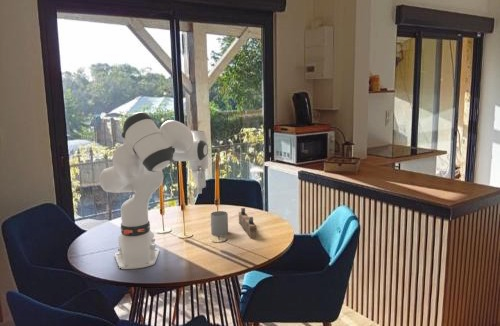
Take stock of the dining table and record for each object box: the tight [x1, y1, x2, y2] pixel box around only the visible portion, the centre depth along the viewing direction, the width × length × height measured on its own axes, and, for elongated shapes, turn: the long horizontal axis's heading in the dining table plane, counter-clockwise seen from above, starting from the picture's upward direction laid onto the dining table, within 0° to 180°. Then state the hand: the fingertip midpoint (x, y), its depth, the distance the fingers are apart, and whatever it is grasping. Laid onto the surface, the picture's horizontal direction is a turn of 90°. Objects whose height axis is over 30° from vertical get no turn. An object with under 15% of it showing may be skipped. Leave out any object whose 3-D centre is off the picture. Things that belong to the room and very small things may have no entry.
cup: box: [210, 210, 229, 237], centre depth 197 cm, size 8×8×10 cm
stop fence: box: [238, 207, 257, 239], centre depth 200 cm, size 24×3×9 cm, turn 15°
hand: (199, 193), depth 192 cm, fingers closed
